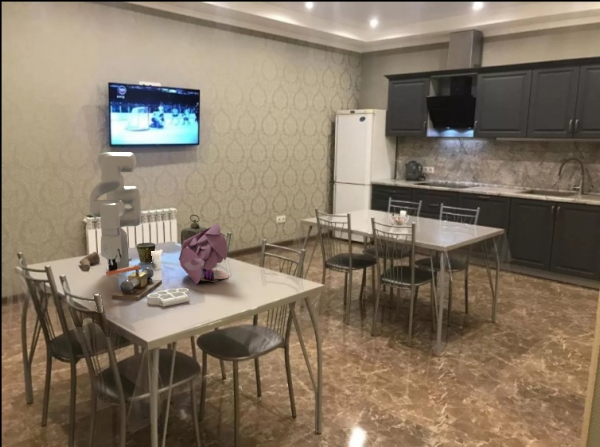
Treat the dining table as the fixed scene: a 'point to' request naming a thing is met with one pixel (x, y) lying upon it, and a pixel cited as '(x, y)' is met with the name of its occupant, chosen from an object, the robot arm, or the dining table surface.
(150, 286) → the valve board
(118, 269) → the lever
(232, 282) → the dining table surface
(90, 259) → the pipe
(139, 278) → the water pipe
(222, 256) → the flower arrangement
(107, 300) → the dining table surface
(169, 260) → the dining table surface
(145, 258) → the ceramic cup
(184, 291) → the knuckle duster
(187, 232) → the tabletop clock
